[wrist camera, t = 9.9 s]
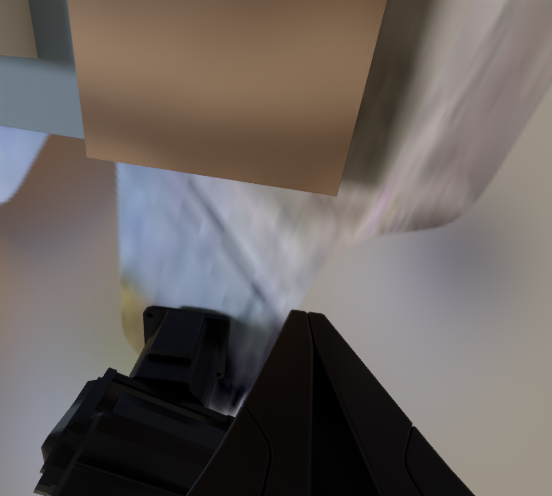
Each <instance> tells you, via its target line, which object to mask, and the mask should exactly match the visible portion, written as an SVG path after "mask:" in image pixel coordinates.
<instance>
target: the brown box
mask: <svg viewBox="0 0 552 496" xmlns="http://www.w3.org/2000/svg"><path fill="white" fill-rule="evenodd" d="M67 2H68V10H69V18H70V26H71V34H72V42H73V50H74V58H75V66H76V74H77V82H78V90H79V98H80V106H81V114H82V122H83V130H84V138H85V145H86V154H87V157H89V158H95V159H102V160H108V161H115V162H121V163H127V164H134V165H140V166H147V167H153V168H159V169H166V170H172V171H178V172H185V173H191V174H198V175H204V176H210V177H217V178H223V179H229V180H236V181H242V182H249V183H255V184H261V185H268V186H274V187H281V188H287V189H293V190H300V191H306V192H312V193H319V194H325V195H332V196H337V194H338V190H339V186H340V182H341V178H342V174H343V171H344V167H345V163H346V159H347V155H348V151H349V147H350V143H351V139H352V135H353V132H354V128H355V124H356V120H357V116H358V112H359V108H360V104H361V100H362V96H363V92H364V89H365V85H366V81H367V77H368V73H369V69H370V65H371V61H372V57H373V53H374V49H375V46H376V42H377V38H378V34H379V30H380V26H381V22H382V18H383V14H384V10H385V7H386V3H387V0H67Z"/></svg>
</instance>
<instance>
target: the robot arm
mask: <svg viewBox="0 0 552 496" xmlns="http://www.w3.org/2000/svg"><path fill="white" fill-rule="evenodd" d="M150 313H152V314H150ZM143 322H144V339H145V346H144V348H143V350H142V352H141V354H140V356H139V358H138V360H137V362H136V364H135V366H134V368H133V370H132V371H131V373H130V375H129V377H128V376H125V375H123V374H120V373H118V372H117V370H115V369H112V368H108V370H107V371H106V373H105V374H104V376H103V377H102V378H101V377H98V379H97V380H92V381H88V382H87V383H86V385H85V386H84V388H83V389H82V391H81V393H80V394H79V396H78V397H77V399H76V400H75V402H74V403H73V404H72V406H71V407H70V409H69V410H68V411H67V412H66V414H65V415H64V416H63V418H62V419H61V420H60V421H59V423H58V424H57V425H56V426H55V428H54V429H53V430H52V432H51V433H50V434H49V435H48V437H47V439H46V440H45V442H44V443H43V445H42V447H41V449H42V454H43V459H44V465H43V467H42V469H41V471H40V473H42V474H43V475H42V477H41V479H40V480H39V482H38V484H37V486H36V488H35V490H34V493H37V494H41V495H44V496H475V495H474V494H473V493H472V492H471V491H470V490H469V488H468V487H467V486H466V485H465V484H464V483H463V482H462V481H461V480H460V479H459V477H457V475H456V474H455V473H454V472H453V471H452V470H451V469H450V468H449V466H448V465H447V464H446V463H445V462H444V460H443V459H442V458H441V457H440V456H439V455H438V453H437V452H436V451H435V450H434V449H433V447H432V446H431V445H430V444H429V443H428V442H427V440H426V439H425V438H424V437H423V435H422V434H421V433H420V432H419V430H418V429H417V428H416V427H415V426H413V427H412V422H411V421H410V420H409V418H408V417H407V416H406V415H405V413H404V412H403V411H402V410H401V409H400V407H399V406H398V405H397V404H396V402H395V401H394V400H393V399H392V397H391V396H390V395H389V394H388V393H387V391H386V390H385V389H384V388H383V386H381V384H380V383H379V382H378V380H377V379H376V378H375V377H374V375H373V374H372V373H371V372H370V370H369V369H368V368H367V367H366V366H365V364H364V363H363V362H362V361H361V359H360V358H359V357H358V356H357V355H356V353H355V352H354V351H353V350H352V348H351V347H350V346H349V345H348V343H347V342H346V341H345V340H344V339H343V337H342V336H341V335H340V334H339V333H338V331H337V330H336V329H335V328H334V326H333V325H332V324H331V323H330V321H329V320H328V319H327V318H326V316H325V315H324V314H322V313H315V312H308V313H306V312H305V311H300V310H291V311H290V313H289V315H288V317H287V319H286V321H285V322H284V324H283V326H282V328H281V330H280V332H279V334H278V336H277V338H276V340H275V342H274V344H273V346H272V348H271V350H270V352H269V353H268V355H267V357H266V359H265V361H264V363H263V365H262V367H261V369H260V371H259V373H258V375H257V377H256V379H255V381H254V383H253V384H252V386H251V388H250V390H249V392H248V394H247V396H246V398H245V400H244V402H243V404H242V406H241V407H240V409H239V411H238V413H237V415H236V417H233V416H230V415H227V416H226V415H224V414H221V413H219V412H216V411H214V410H211V409H209V405H210V401H211V396H212V392H213V387H214V383H215V379H216V378H217V379H220V378H223V377H224V373H225V366H226V357H227V348H228V339H229V330H230V319H229V318H228V317H225V316H219V315H211V314H204V313H196V312H189V311H181V310H173V309H166V308H158V307H147V308H146V309H145V311H144V312H143ZM221 322H224V323H226V324H223V323H221ZM218 372H219V373H218Z"/></svg>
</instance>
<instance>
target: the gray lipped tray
mask: <svg viewBox="0 0 552 496" xmlns="http://www.w3.org/2000/svg"><path fill="white" fill-rule="evenodd" d="M28 1H29V7H30V13H31V19H32V25H33V31H34V37H35V43H36V49H37V55H38V59H34V58H24V57H14V56H4V55H0V126H7V127H13V128H19V129H25V130H32V131H38V132H44V133H50V134H57V135H63V136H69V137H75V138H82V139H85V138H84V130H83V122H82V114H81V106H80V98H79V90H78V82H77V74H76V66H75V58H74V50H73V42H72V34H71V26H70V18H69V10H68V2H67V0H28Z"/></svg>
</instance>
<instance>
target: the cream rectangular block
mask: <svg viewBox="0 0 552 496" xmlns="http://www.w3.org/2000/svg"><path fill="white" fill-rule="evenodd" d="M0 55H4V56H14V57H24V58H34V59H38V55H37V49H36V43H35V37H34V31H33V25H32V19H31V13H30V7H29V1H28V0H0Z"/></svg>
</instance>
